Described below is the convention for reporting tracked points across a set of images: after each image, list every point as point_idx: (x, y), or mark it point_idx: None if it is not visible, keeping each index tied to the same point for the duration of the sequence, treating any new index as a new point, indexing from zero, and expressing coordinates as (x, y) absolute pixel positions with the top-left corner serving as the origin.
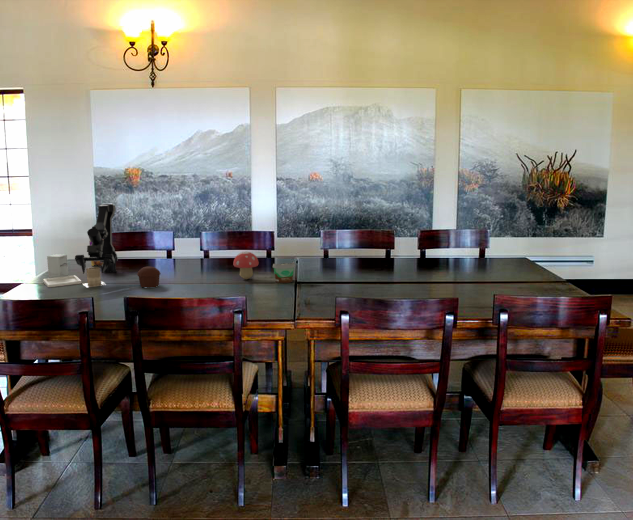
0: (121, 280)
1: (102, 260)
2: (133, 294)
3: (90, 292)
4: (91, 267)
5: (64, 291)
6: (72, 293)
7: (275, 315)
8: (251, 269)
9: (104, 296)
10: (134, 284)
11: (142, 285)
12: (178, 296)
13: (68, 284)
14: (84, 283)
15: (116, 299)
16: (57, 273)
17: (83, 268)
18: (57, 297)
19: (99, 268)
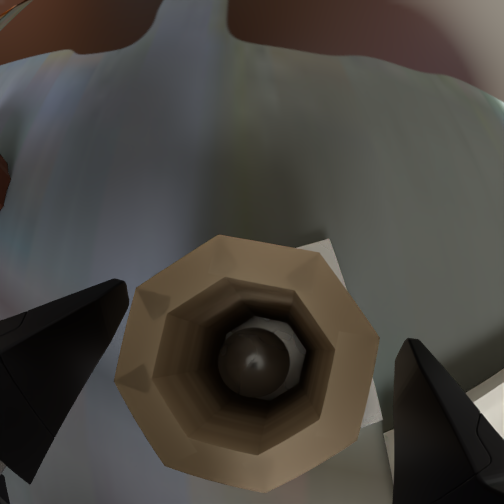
0: (58, 448)
1: (4, 501)
2: (83, 69)
3: (279, 117)
4: (279, 472)
5: (466, 204)
6: (396, 130)
7: (12, 12)
8: None
9: (200, 44)
10: (7, 269)
11: (2, 166)
12: (12, 64)
13: (484, 387)
14: (361, 425)
15: (162, 18)
16: None
17: (435, 385)
18: (440, 85)
19: (124, 353)
